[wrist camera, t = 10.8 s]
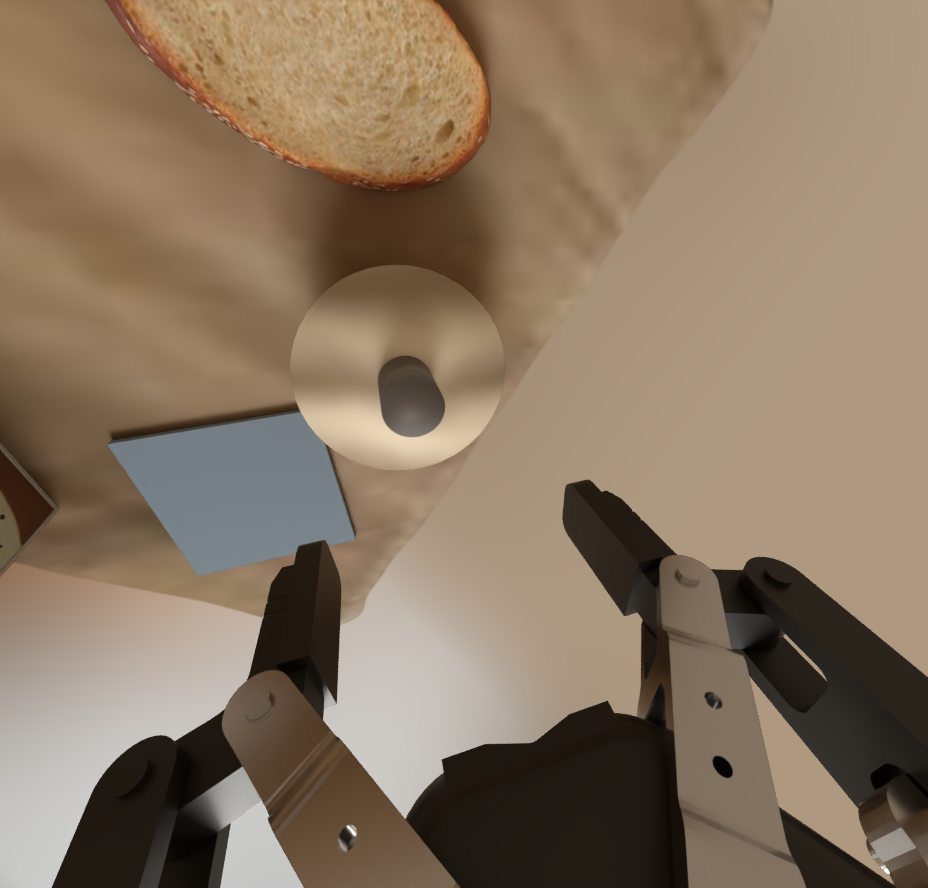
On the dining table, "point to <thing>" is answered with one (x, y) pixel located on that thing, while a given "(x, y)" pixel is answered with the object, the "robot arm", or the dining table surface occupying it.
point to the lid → (397, 367)
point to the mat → (239, 488)
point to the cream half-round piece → (19, 509)
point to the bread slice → (327, 81)
